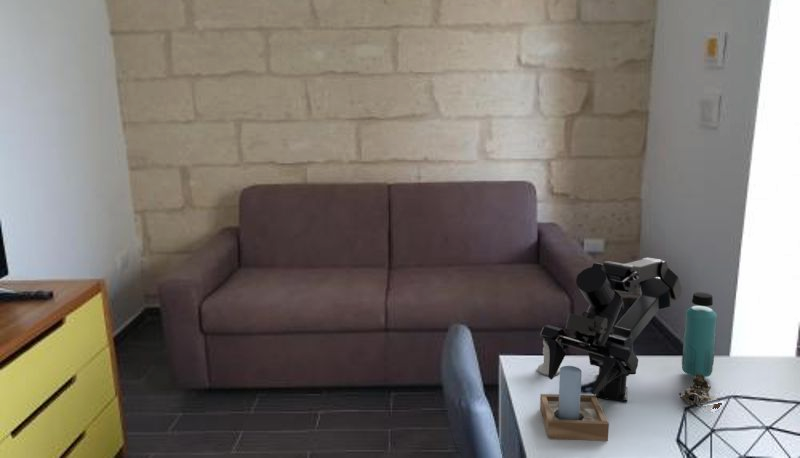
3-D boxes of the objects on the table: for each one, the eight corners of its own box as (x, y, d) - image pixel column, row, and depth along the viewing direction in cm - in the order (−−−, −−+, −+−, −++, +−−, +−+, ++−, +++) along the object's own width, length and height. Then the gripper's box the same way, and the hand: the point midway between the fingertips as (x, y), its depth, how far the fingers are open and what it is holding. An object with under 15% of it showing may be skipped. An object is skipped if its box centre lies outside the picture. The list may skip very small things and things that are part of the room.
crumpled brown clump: (676, 413, 121) (662, 372, 130) (674, 433, 125) (661, 391, 133) (740, 411, 119) (722, 368, 127) (737, 431, 122) (719, 388, 131)
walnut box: (540, 409, 125) (540, 394, 124) (594, 410, 124) (595, 395, 123) (548, 438, 114) (549, 422, 113) (607, 440, 113) (608, 423, 112)
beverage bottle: (717, 383, 134) (726, 298, 130) (687, 384, 135) (695, 298, 130) (703, 370, 141) (711, 289, 137) (674, 371, 141) (681, 289, 137)
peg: (566, 419, 121) (569, 363, 118) (583, 427, 118) (586, 371, 115) (553, 425, 119) (555, 369, 116) (569, 434, 115) (572, 376, 113)
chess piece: (558, 378, 139) (559, 341, 137) (535, 373, 141) (536, 337, 139) (562, 368, 143) (564, 333, 141) (540, 364, 145) (541, 329, 144)
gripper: (546, 287, 123) (514, 354, 118) (635, 308, 110) (604, 384, 105) (564, 313, 130) (535, 377, 125) (650, 335, 117) (621, 408, 112)
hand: (570, 386), depth 116 cm, fingers open, 9 cm apart
